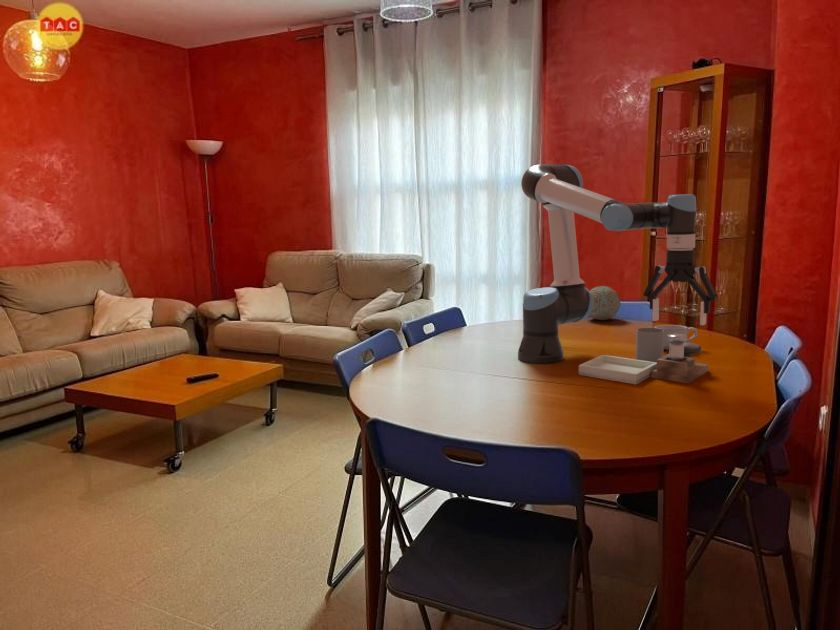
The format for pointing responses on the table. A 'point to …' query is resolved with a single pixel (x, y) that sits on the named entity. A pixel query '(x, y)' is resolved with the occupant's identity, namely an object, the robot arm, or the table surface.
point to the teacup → (675, 332)
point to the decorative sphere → (604, 303)
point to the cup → (649, 344)
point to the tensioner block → (680, 366)
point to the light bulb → (676, 346)
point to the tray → (618, 369)
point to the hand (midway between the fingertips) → (678, 322)
